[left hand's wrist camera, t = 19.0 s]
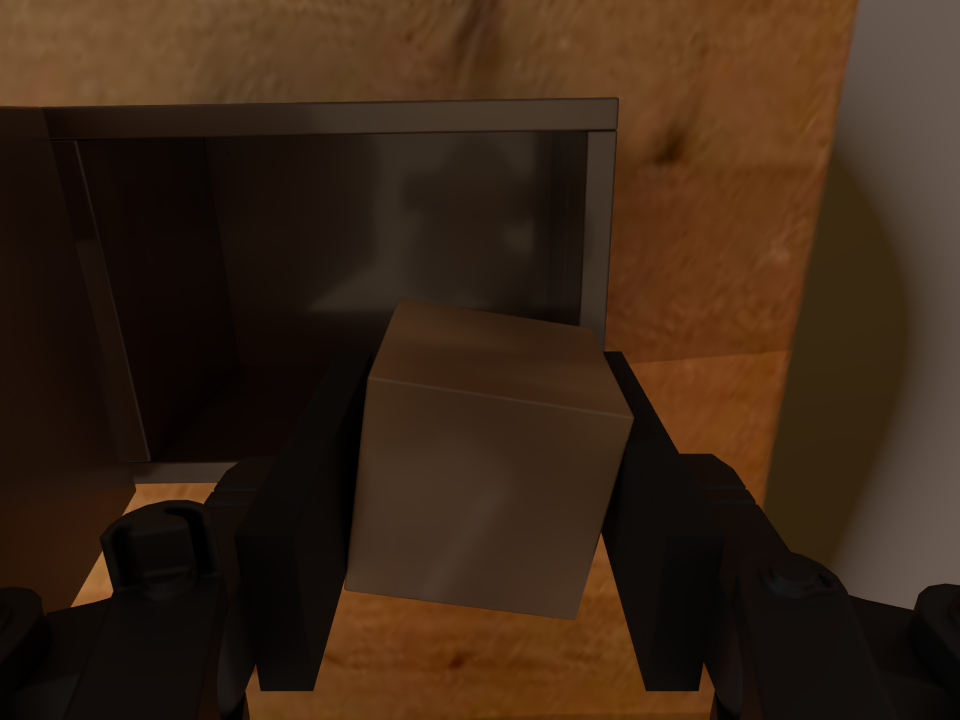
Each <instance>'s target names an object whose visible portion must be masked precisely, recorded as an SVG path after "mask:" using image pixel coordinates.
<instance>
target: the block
mask: <svg viewBox="0 0 960 720" xmlns="http://www.w3.org/2000/svg"><path fill="white" fill-rule="evenodd" d="M633 421H634V416H633V414H632V412H631V410H630V408H629V406H628V404H627V402H626V400H625V398H624V396H623V394H622V392H621V389H620V387H619V385H618V383H617V381H616V379H615V377H614V375H613V373H612V371H611V369H610V367H609V365H608V363H607V361H606V359H605V357H604V355H603V352H602V350H601V348H600V346H599V344H598V342H597V340H596V338H595V336H594V334H593V332H592V330H591V329H590V328H584V327H578V326H572V325H565V324H559V323H553V322H547V321H541V320H534V319H528V318H522V317H516V316H510V315H503V314H497V313H491V312H485V311H478V310H472V309H466V308H460V307H454V306H447V305H441V304H435V303H429V302H422V301H416V300H410V299H404V298H400V299H399V300H398V303H397V306H396V308H395V311H394V313H393V316H392V318H391V321H390V323H389V326H388V328H387V331H386V333H385V336H384V338H383V341H382V343H381V346H380V348H379V351H378V353H377V356H376V358H375V361H374V363H373V366H372V368H371V371H370V373H369V376H368V379H367V388H366V396H365V405H364V414H363V423H362V432H361V441H360V450H359V459H358V468H357V477H356V486H355V495H354V504H353V513H352V522H351V531H350V539H349V548H348V557H347V566H346V576H345V584H344V588H345V590H346V591H353V592H361V593H369V594H376V595H384V596H392V597H399V598H407V599H415V600H422V601H430V602H438V603H445V604H453V605H461V606H468V607H476V608H484V609H491V610H499V611H507V612H514V613H522V614H530V615H537V616H545V617H553V618H560V619H568V620H575V619H576V616H577V612H578V609H579V605H580V602H581V599H582V595H583V592H584V588H585V585H586V581H587V578H588V575H589V571H590V568H591V564H592V561H593V557H594V554H595V551H596V547H597V544H598V540H599V537H600V534H601V530H602V527H603V523H604V520H605V516H606V513H607V510H608V506H609V503H610V499H611V496H612V492H613V489H614V486H615V482H616V479H617V475H618V472H619V468H620V465H621V462H622V458H623V455H624V451H625V448H626V442H627V441H628V438H629V434H630V431H631V427H632V424H633Z"/></svg>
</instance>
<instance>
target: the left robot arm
mask: <svg viewBox="0 0 960 720" xmlns="http://www.w3.org/2000/svg"><path fill="white" fill-rule="evenodd" d="M603 355H604V357H605V359H606V361H607V363H608V365H609V367H610V369H611V371H612V373H613V375H614V377H615V379H616V381H617V383H618V385H619V387H620V389H621V392H622V394H623V396H624V398H625V400H626V402H627V404H628V406H629V408H630V410H631V412H632V414H633V416H634V421H633V424H632V427H631V431H630V434H629V438H628V441H627V442H626V448H625V451H624V455H623V458H622V462H621V465H620V468H619V472H618V475H617V479H616V482H615V486H614V489H613V492H612V496H611V499H610V503H609V506H608V510H607V513H606V516H605V520H604V523H603V527H602V530H601V533H602V536H603V540H604V543H605V547H606V551H607V554H608V558H609V561H610V565H611V568H612V572H613V575H614V579H615V583H616V586H617V590H618V593H619V597H620V600H621V604H622V607H623V611H624V614H625V618H626V622H627V625H628V629H629V632H630V636H631V639H632V643H633V646H634V650H635V654H636V657H637V661H638V664H639V668H640V671H641V675H642V678H643V682H644V685H645V689H646V691H699V685H700V679H701V674H702V668H703V662H704V663H705V666H706V668H707V671H708V673H709V676H710V678H711V681H712V683H713V686H714V688H715V692H714V698H713V703H712V708H711V714H710V719H709V720H960V585H953V584H940V585H933V586H928V587H927V588H926V589H924V590H923V591H922V592H921V593H920V594H919V595H918V598H917V601H916V604H915V607H914V610H910V609H906V608H901V607H896V606H892V605H887V604H883V603H878V602H873V601H869V600H865V599H861V598H858V597H854V596H851V595H848V592H847V590H846V589H845V587H844V586H843V584H842V583H841V581H840V580H839V578H838V577H837V576H836V575H835V574H833V573H832V572H831V571H830V570H828V569H827V568H826V567H825V566H823V565H822V564H820V563H818V562H816V561H814V560H812V559H810V558H808V557H805V556H803V555H801V554H797V553H793V552H790V550H789V549H788V547H787V546H786V544H785V543H784V542H783V540H782V539H781V537H780V536H779V534H778V533H777V531H776V530H775V529H774V527H773V526H772V524H771V523H770V521H769V520H768V518H767V517H766V515H765V514H764V513H763V511H762V510H761V508H760V507H759V505H756V503H755V500H754V498H753V497H752V495H751V494H750V492H749V491H748V490H746V489H745V485H744V484H743V482H742V481H741V479H740V478H739V476H738V475H737V474H736V472H735V471H734V469H733V468H731V467H730V466H728V465H727V464H726V463H724V462H723V461H721V460H720V459H718V458H717V457H715V456H714V455H713V454H679V453H678V451H677V449H676V447H675V446H674V444H673V442H672V440H671V439H670V437H669V435H668V433H667V431H666V430H665V428H664V426H663V424H662V423H661V421H660V419H659V417H658V416H657V414H656V412H655V410H654V409H653V407H652V405H651V403H650V401H649V400H648V398H647V396H646V394H645V393H644V391H643V389H642V387H641V386H640V384H639V382H638V380H637V378H636V377H635V375H634V373H633V371H632V370H631V368H630V366H629V364H628V363H627V361H626V359H625V357H624V356H623V354H622V352H603ZM372 366H373V362H372V351H357V352H337V354H336V356H335V358H334V359H333V361H332V363H331V365H330V366H329V368H328V370H327V372H326V374H325V375H324V377H323V379H322V381H321V382H320V384H319V386H318V388H317V389H316V391H315V393H314V395H313V396H312V398H311V400H310V402H309V404H308V405H307V407H306V409H305V411H304V412H303V414H302V416H301V418H300V419H299V421H298V423H297V425H296V426H295V428H294V430H293V432H292V434H291V435H290V437H289V439H288V441H287V442H286V444H285V446H284V448H283V449H282V451H281V453H280V455H279V456H247V457H246V458H244V459H243V460H241V461H240V462H238V463H237V464H235V465H234V466H233V467H231V468H230V469H228V470H227V471H226V472H225V473H224V475H223V476H222V478H221V479H220V481H219V482H218V484H217V485H216V487H215V488H214V492H211V494H210V495H209V497H208V498H207V500H206V501H205V503H204V504H202V503H198V502H194V501H190V500H167V501H163V502H158V503H154V504H149V505H146V506H143V507H141V508H139V509H136V510H134V511H131V512H129V513H127V514H125V515H123V516H122V517H121V518H119V519H118V520H116V521H115V522H113V523H112V524H110V525H109V526H108V528H107V529H106V530H105V531H104V533H103V534H102V535H101V536H100V538H99V539H100V542H101V546H102V550H103V554H104V557H105V561H106V565H107V568H108V572H109V576H110V579H111V583H112V587H113V594H112V596H111V598H108V599H104V600H101V601H97V602H94V603H89V604H85V605H80V606H75V607H71V608H66V609H62V610H57V611H53V612H48V613H46V610H45V607H44V604H43V601H42V598H41V596H39V595H38V594H37V593H36V592H34V591H33V590H32V589H28V588H21V587H15V586H14V587H6V588H0V720H249V718H250V716H249V710H248V703H247V698H246V692H245V690H246V687H247V685H248V682H249V680H250V677H251V675H252V672H253V670H254V667H255V665H256V667H257V672H258V678H259V684H260V689H261V691H313V690H314V686H315V683H316V679H317V676H318V672H319V669H320V665H321V661H322V658H323V654H324V651H325V647H326V644H327V640H328V637H329V633H330V630H331V626H332V622H333V619H334V615H335V612H336V608H337V605H338V601H339V598H340V594H341V590H342V587H343V583H344V580H345V576H346V566H347V557H348V548H349V539H350V531H351V522H352V513H353V504H354V495H355V486H356V477H357V468H358V459H359V450H360V441H361V432H362V423H363V414H364V405H365V396H366V388H367V379H368V376H369V373H370V371H371V368H372Z"/></svg>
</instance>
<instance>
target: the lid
mask: <svg viewBox="0 0 960 720" xmlns="http://www.w3.org/2000/svg"><path fill="white" fill-rule="evenodd" d="M135 492H136V487H135V483H134V479H133V475H132V470H131V466H130V462H129V458H128V454H127V450H126V446H125V442H124V438H123V434H122V430H121V426H120V422H119V418H118V414H117V410H116V405H115V401H114V397H113V393H112V389H111V385H110V381H109V377H108V373H107V369H106V365H105V361H104V357H103V353H102V349H101V345H100V341H99V336H98V332H97V328H96V324H95V320H94V316H93V312H92V308H91V304H90V300H89V296H88V292H87V288H86V284H85V280H84V276H83V271H82V267H81V263H80V259H79V255H78V251H77V247H76V243H75V239H74V235H73V231H72V227H71V223H70V219H69V215H68V211H67V207H66V202H65V198H64V194H63V190H62V186H61V182H60V178H59V174H58V170H57V166H56V162H55V158H54V154H53V150H52V146H51V142H50V138H49V133H48V129H47V125H46V121H45V117H44V113H43V110H42V108H40V107H28V106H0V588H6V587H14V586H15V587H21V588H28V589H32V590H33V591H34V592H36V593H37V594H38V595H39V596H41V598H42V601H43V604H44V607H45V610H46V613H48V612H53V611H57V610H62V609H66V608H70V607H71V606H72V604H73V602H74V600H75V598H76V597H77V595H78V593H79V591H80V590H81V588H82V586H83V584H84V583H85V581H86V579H87V577H88V575H89V574H90V572H91V570H92V568H93V567H94V565H95V563H96V561H97V560H98V558H99V556H100V554H101V552H102V551H103V550H102V546H101V542H100V539H99V538H100V536H101V535H102V534H103V533H104V531H105V530H106V529H107V528H108V526H109V525H110V524H112V523H113V522H115V521H116V520H118V519H119V518H121V517H122V515H123V514H124V512H125V510H126V508H127V506H128V505H129V503H130V501H131V499H132V498H133V496H134V494H135Z"/></svg>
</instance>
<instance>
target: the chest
mask: <svg viewBox="0 0 960 720" xmlns="http://www.w3.org/2000/svg"><path fill="white" fill-rule="evenodd" d="M40 108H42V110H43V113H44V117H45V121H46V125H47V129H48V133H49V138H50V142H51V146H52V150H53V154H54V158H55V162H56V166H57V170H58V174H59V178H60V182H61V186H62V190H63V194H64V198H65V202H66V207H67V211H68V215H69V219H70V223H71V227H72V231H73V235H74V239H75V243H76V247H77V251H78V255H79V259H80V263H81V267H82V271H83V276H84V280H85V284H86V288H87V292H88V296H89V300H90V304H91V308H92V312H93V316H94V320H95V324H96V328H97V332H98V336H99V341H100V345H101V349H102V353H103V357H104V361H105V365H106V369H107V373H108V377H109V381H110V385H111V389H112V393H113V397H114V401H115V405H116V410H117V414H118V418H119V422H120V426H121V430H122V434H123V438H124V442H125V446H126V450H127V454H128V458H129V462H130V466H131V470H132V475H133V479H134V483H135V484H148V483H213V482H219V481H220V479H221V478H222V476H223V475H224V473H225V472H226V471H227V470H228V469H230V468H231V467H233V466H234V465H235V464H237V463H238V462H240V461H241V460H243V459H244V458H246V457H247V456H279V455H280V453H281V451H282V449H283V448H284V446H285V444H286V442H287V441H288V439H289V437H290V435H291V434H292V432H293V430H294V428H295V426H296V425H297V423H298V421H299V419H300V418H301V416H302V414H303V412H304V411H305V409H306V407H307V405H308V404H309V402H310V400H311V398H312V396H313V395H314V393H315V391H316V389H317V388H318V386H319V384H320V382H321V381H322V379H323V377H324V375H325V374H326V372H327V370H328V368H329V366H330V365H331V363H332V361H333V359H334V358H335V356H336V354H337V352H357V351H372V362H373V363H374V361H375V358H376V356H377V353H378V351H379V348H380V346H381V343H382V341H383V338H384V336H385V333H386V331H387V328H388V326H389V323H390V321H391V318H392V316H393V313H394V311H395V308H396V306H397V303H398V300H399V299H400V298H404V299H410V300H416V301H422V302H429V303H435V304H441V305H447V306H454V307H460V308H466V309H472V310H478V311H485V312H491V313H497V314H503V315H510V316H516V317H522V318H528V319H534V320H541V321H547V322H553V323H559V324H565V325H572V326H578V327H584V328H590V329H591V330H592V332H593V334H594V336H595V338H596V340H597V342H598V344H599V346H600V348H601V350H602V352H604V347H605V330H606V313H607V296H608V279H609V262H610V245H611V228H612V211H613V194H614V177H615V161H616V144H617V131H616V130H617V126H618V109H619V98H617V97H609V98H549V99H489V100H429V101H369V102H309V103H249V104H189V105H129V106H69V107H40Z"/></svg>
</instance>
